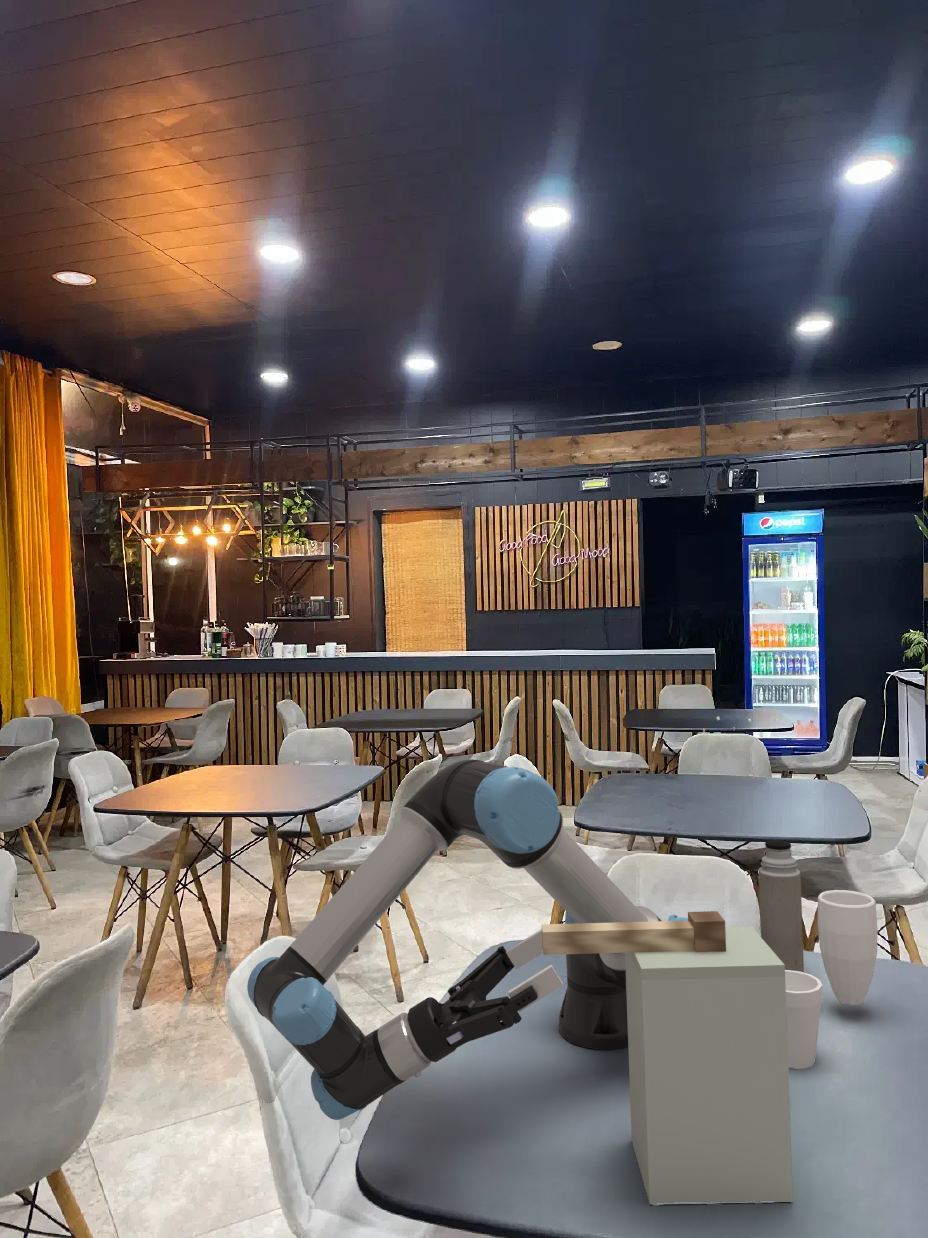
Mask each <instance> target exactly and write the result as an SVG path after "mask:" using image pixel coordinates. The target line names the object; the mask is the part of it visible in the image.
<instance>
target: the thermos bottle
mask: <svg viewBox="0 0 928 1238" xmlns="http://www.w3.org/2000/svg"><path fill="white" fill-rule="evenodd" d="M764 845H765V846H764V847H766V848H765V855H764V856H762V858H761V862H760V865H761V867H759V868H758V889H759V890H758V894H759V897H758V898H759V899H758V900H759V919H760V920H759V923H760V925H759V926H760V937H761V938H762V939H763V940H764V941H765V943H766V944H767V945H768V946H769V947H770V948H771V950H772V951H773V952H774V953H775V954H776V955H777V957H778V958H779V959H780V960H781V961H782V962H783V964H784V965H785V970H791V971H800V972H803V973H805V966H804V965H805V963H804V960H805V959H804V940H803V939H804V938H803V909H802V907H803V906H802V879H801V878H802V877H801V871H800V870H799V869H798V863H797V859H796V858H794V857H793V856H792V849H791V848H792V844H791V842H789V841H786V840H775V839H774V840H766V841H765V844H764Z"/></svg>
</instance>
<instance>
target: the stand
mask: <svg viewBox="0 0 928 1238" xmlns="http://www.w3.org/2000/svg"><path fill="white" fill-rule="evenodd" d="M725 931H726V951H723V952H695V951H668V952H631V953H625V965H626V993H627V1021H628V1046H627V1047H628V1049H627V1050H628V1070H629V1071H628V1072H629V1074H628V1075H629V1100H630V1101H629V1102H630V1105H629V1106H630V1126H631V1127H630V1128H631V1143H632V1146H633V1147H632V1148H633V1151H634V1153H635V1157H636V1161H637V1165H638V1167H639V1172H640V1174H641V1175H642V1176H641V1179H642V1178H643V1179H642V1183H643V1182H644V1183H643V1186H644V1185H645V1186H644V1189H645V1188H646V1190H645V1193H646V1192H647V1194H646V1196H648V1197H647V1200H648V1199H649V1201H648V1203H650V1204H653V1203H654V1204H657V1203H665V1202H666V1203H674V1202H679V1203H680V1202H709V1203H710V1202H713V1203H714V1202H717V1203H718V1202H720V1203H721V1202H747V1201H748V1202H750V1201H752V1202H753V1201H755V1202H760V1201H775V1202H791V1203H790V1204H793V1203H794V1191H793V1190H794V1188H793V1183H794V1182H793V1160H792V1159H793V1158H792V1156H793V1154H792V1133H791V1131H792V1128H791V1105H790V1077H789V1075H790V1073H789V1071H790V1069H789V1068H788V1042H787V1014H786V986H785V965H784V964H783V962H782V961H781V960H780V959H779V958H778V957H777V955H776V954H775V953H774V952H773V951H772V950H771V948H770V947H769V946H768V945H767V944H766V943H765V941H764V940H763V939H762V938H761V935H760V934H759V933H758V932H757V930H755V928H754V927H753V926H729V927H728V926H725ZM650 1204H649V1205H650Z"/></svg>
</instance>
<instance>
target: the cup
mask: <svg viewBox="0 0 928 1238" xmlns="http://www.w3.org/2000/svg"><path fill="white" fill-rule="evenodd" d="M876 903H877V902H876V900H875V899H874V898H873V896H871V895H869V894H867V893H865V892H864V893H863V892H859V891H857V890H855V891H854V890H845V889H833V890H831V889H830V890H826V891H823V892H821V893H820V894H819V895H818V896H817V931H818V942H819V950H820V954H821V958H822V962H823V966H824V967H823V968H824V971H825V973H826V977H827V980H828V981H829V984H830V987H831V989H832V992H833V994H834V996H835V998H836V999H837V1000H838V1002H840V1003H842V1004H846V1005H847V1004H848V1005H852V1006H853V1005H862V1004H863V1003H864V1000H865V999H866V997H867V995H868V993H869V990H870V986H871V984H872V980H873V977H874V973H875V972H874V971H875V966H876V960H877V956H878V931H879V930H878V917H877V904H876Z"/></svg>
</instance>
